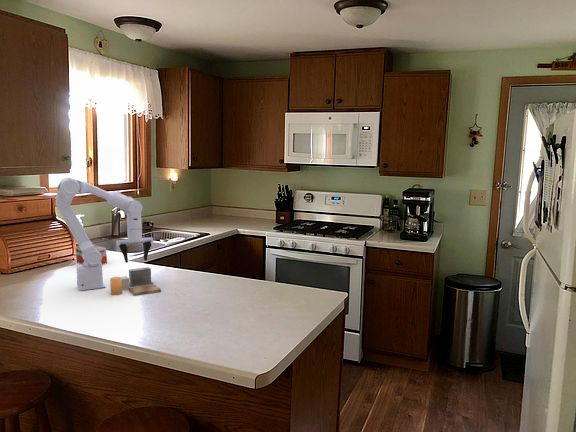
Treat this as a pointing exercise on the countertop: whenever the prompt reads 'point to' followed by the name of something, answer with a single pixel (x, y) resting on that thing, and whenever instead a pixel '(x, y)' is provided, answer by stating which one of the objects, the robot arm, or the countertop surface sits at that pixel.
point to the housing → (140, 276)
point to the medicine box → (100, 249)
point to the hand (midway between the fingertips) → (136, 261)
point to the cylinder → (116, 285)
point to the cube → (125, 283)
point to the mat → (144, 289)
